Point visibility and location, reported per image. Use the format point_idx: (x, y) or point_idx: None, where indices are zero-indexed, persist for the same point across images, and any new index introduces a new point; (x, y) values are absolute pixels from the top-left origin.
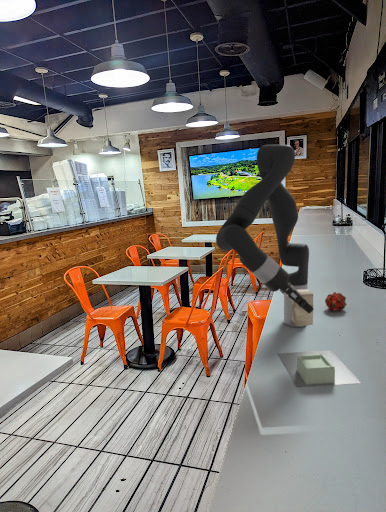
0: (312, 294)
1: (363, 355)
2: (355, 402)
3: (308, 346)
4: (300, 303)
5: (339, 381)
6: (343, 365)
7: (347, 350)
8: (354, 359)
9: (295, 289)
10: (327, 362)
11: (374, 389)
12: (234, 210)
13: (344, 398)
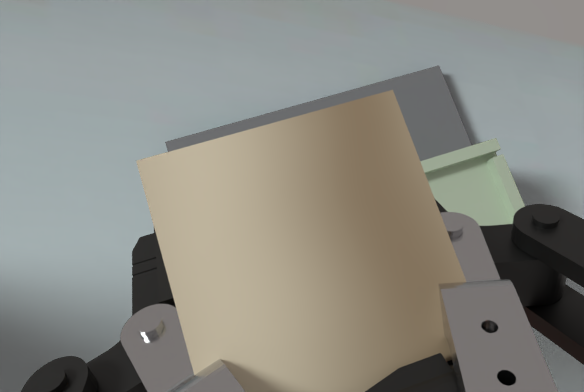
0: (395, 104)
1: (173, 14)
2: (541, 108)
3: (103, 246)
4: (562, 288)
5: (448, 139)
6: (311, 106)
7: (129, 69)
8: (218, 56)
9: (553, 389)
10: (453, 164)
11: (441, 33)
12: None
13: (528, 139)
